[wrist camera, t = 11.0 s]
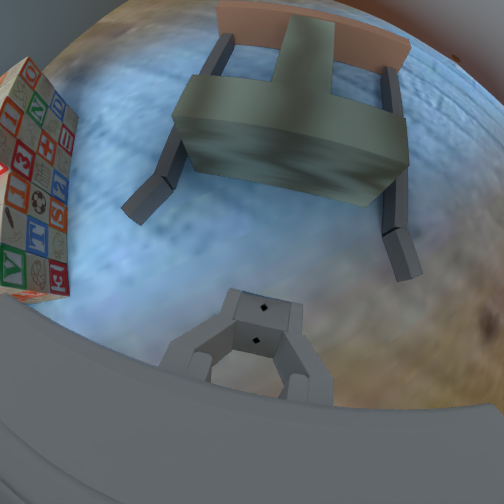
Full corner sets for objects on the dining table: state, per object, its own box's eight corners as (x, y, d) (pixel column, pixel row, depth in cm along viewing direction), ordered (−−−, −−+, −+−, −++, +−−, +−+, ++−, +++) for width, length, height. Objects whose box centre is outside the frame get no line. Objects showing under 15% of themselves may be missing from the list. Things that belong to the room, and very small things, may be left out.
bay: (400, 73, 26) (416, 43, 20) (407, 284, 21) (448, 275, 15) (216, 35, 27) (212, 0, 21) (130, 223, 22) (96, 199, 16)
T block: (367, 90, 25) (390, 40, 17) (365, 207, 22) (409, 165, 14) (237, 63, 26) (233, 8, 18) (195, 171, 23) (171, 115, 15)
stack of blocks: (72, 297, 21) (-32, 283, 9) (32, 305, 21) (-60, 294, 9) (79, 116, 25) (28, 53, 13) (43, 135, 25) (-11, 83, 13)
